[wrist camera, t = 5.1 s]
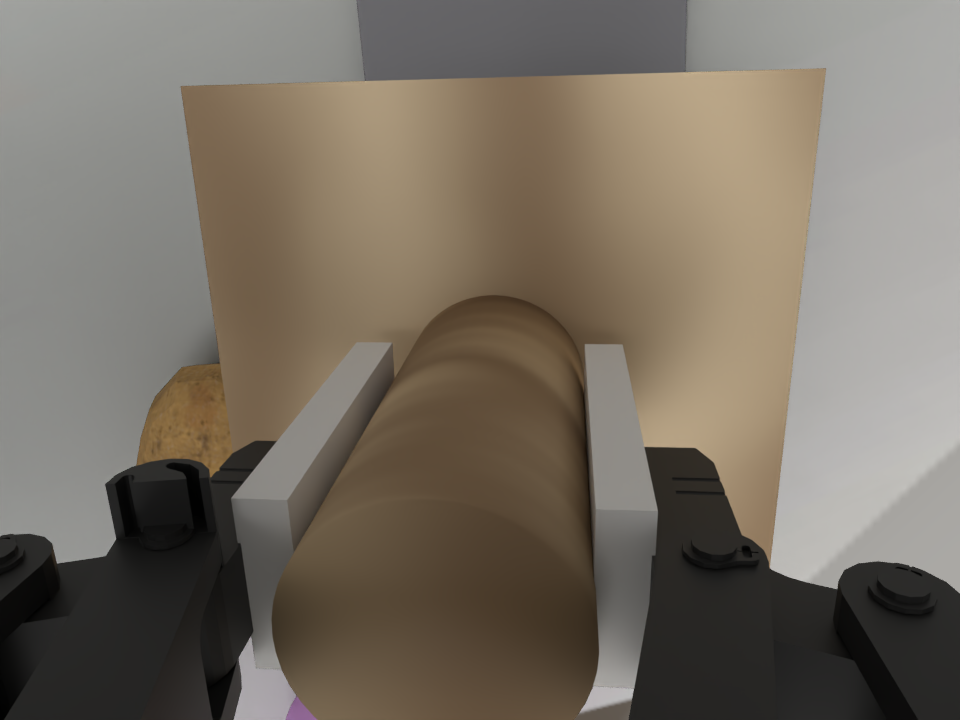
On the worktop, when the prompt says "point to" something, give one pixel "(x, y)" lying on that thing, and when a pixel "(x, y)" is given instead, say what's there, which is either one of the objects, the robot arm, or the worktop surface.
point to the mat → (520, 38)
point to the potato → (189, 420)
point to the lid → (497, 345)
